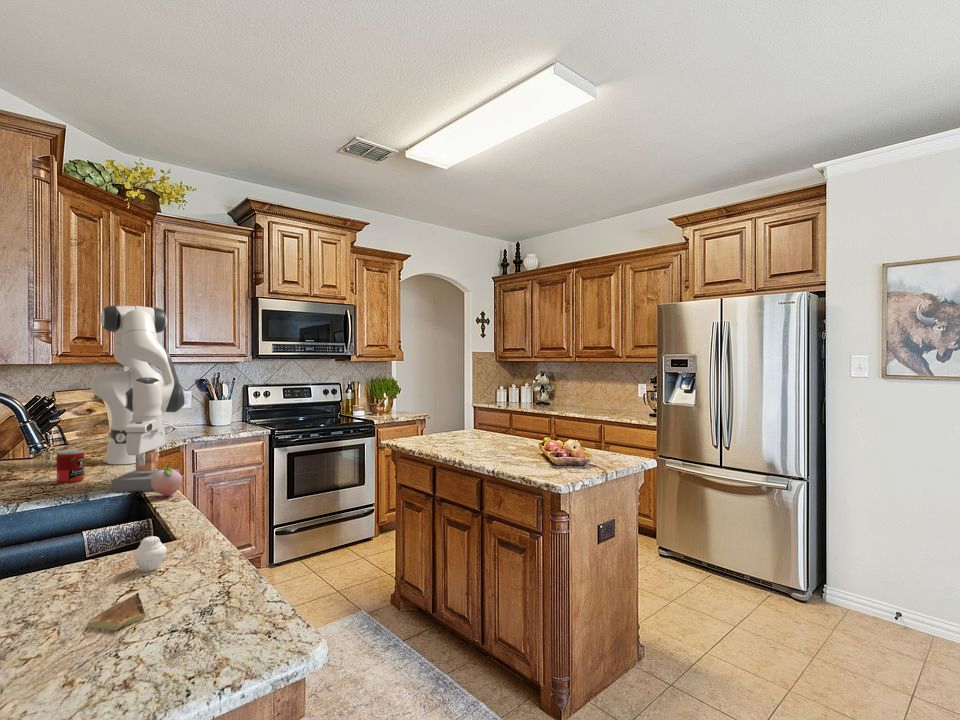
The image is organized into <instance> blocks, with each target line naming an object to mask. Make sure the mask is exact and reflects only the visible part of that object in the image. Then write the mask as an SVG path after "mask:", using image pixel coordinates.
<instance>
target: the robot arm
mask: <svg viewBox="0 0 960 720" xmlns="http://www.w3.org/2000/svg"><path fill="white" fill-rule="evenodd" d="M99 319H100V320H99V321H100V324H101V326H102V328H103V329H104V330H106V331H107V332H109V333H114V342H113V343H114V344H113V345H114V346H113V358H114V360H115V361H116V362H118V364H121V365H122V366H125V367H128V368H129V369H130V370H109V371H103V372H97V373H96V374H94V375H93V376H92V378H91V380H90V385H89V387H90V389H91V391H92V393H94V395H95V396H97V397H98V398H100V399H102V400H103V401H104V402H105V403H106V405H107V406H108V407H109V410H110V413H111V414H110V415H111V429H110V438H111V439H110V440H109V441H108V443H107V449H106V457H105V458H104V459H103V461H102V463H106V464H108V465H129V464H136V455H137V458H138V460H139V466H144V465H146V460H145V452H148V451H158V449H159V448H162V447H163V446H165V444H166V433H165V432H166V431H165V427H164V426H163V413H176V412H178V411H179V410H180V409H182V408H183V407H184V406H185V402H186V398H185V393H184V390H183V388H182V386H181V384H180V380H179V378H178V375H177V372H176V368H175V364H174V363H173V360H172V357H171V355H170V352H169V351H168V349H167V348H165V347H163V346H162V345H161V344H160V342H159V341H158V338H157V334H158V333H159V334H160V333H162V332H163V331H165V329H166V326H167V324H168V317H167V315H166V312H165V310H163V309H162V308H159V307H148V306H141V305H117V306H116V305H115V304H114V305H107V306H105V307H104V308H103V309H102V312H101V314H100V318H99ZM150 364H151V365H153V366H155V367H157V368H158V369H159V370H160V372H161V374H160V373H159V372H158V371H156V370H154V369H153V368H152V367H151V366H150ZM164 384H165V385H164ZM159 456H160V453H159V452H158V457H159Z"/></svg>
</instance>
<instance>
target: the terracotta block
mask: <svg viewBox="0 0 960 720" xmlns="http://www.w3.org/2000/svg"><path fill="white" fill-rule="evenodd" d="M158 453H159V450H157V451H148V452H145V460H146V465H144V466H139V460H138V458H137V455H136V463H135V470H136V471H152V470H158V469H159V456H158Z"/></svg>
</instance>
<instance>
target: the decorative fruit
mask: <svg viewBox="0 0 960 720" xmlns="http://www.w3.org/2000/svg"><path fill="white" fill-rule="evenodd" d="M160 470H161V471H158V472H157V473H156V474H155V475H154V476H153V478H152V481H151V485H152V488H153V489H154V490H155V491H154V492H156V493H158V494H160V495H163V496H166V498H167V497H169V496H172V495H174V494H175V493H176V492H177V491H178V490H179V488H180V487H181V485H182V483H183V477H182V474H180V471H179V472H177V471H175V470H173V468H172V467H169V465H167V466H166V467H164V468H163V469H160Z"/></svg>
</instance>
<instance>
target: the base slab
mask: <svg viewBox="0 0 960 720" xmlns="http://www.w3.org/2000/svg"><path fill="white" fill-rule="evenodd" d="M172 469H173V468H172ZM161 470H162V469H155V470H152V471H136V469H134V470H132V471H130V472H127V473H126V474H125V473H124V474H123V475H120V476H118V477H116V478H114V479H113V478H112V479H111V492H112V493H117V492H123V493H124V492H126V493H127V492H153V491H154V492H156V491H155V490H154V489H153V488H152V485H151V481H152V478H153V476H154V475H155V474H156V473H157V472H158V471H161ZM173 470H175V471H177V472H179V473H180V469H179V468H177V469H176V468H175V469H173Z"/></svg>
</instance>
